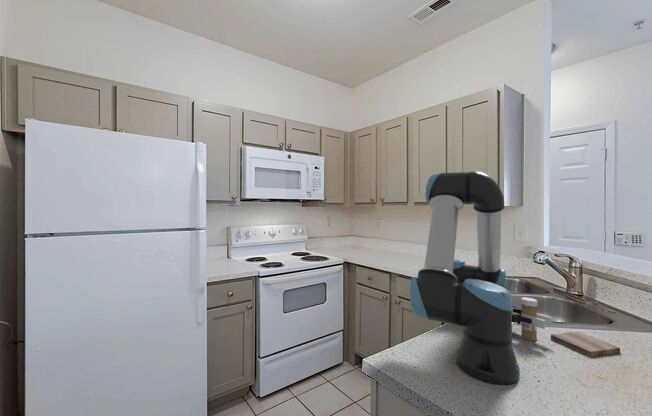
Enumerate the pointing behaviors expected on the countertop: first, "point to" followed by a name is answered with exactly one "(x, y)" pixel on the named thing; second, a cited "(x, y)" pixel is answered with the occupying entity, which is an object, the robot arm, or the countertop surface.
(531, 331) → the sprinkles bottle
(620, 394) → the countertop surface
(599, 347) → the walnut board
